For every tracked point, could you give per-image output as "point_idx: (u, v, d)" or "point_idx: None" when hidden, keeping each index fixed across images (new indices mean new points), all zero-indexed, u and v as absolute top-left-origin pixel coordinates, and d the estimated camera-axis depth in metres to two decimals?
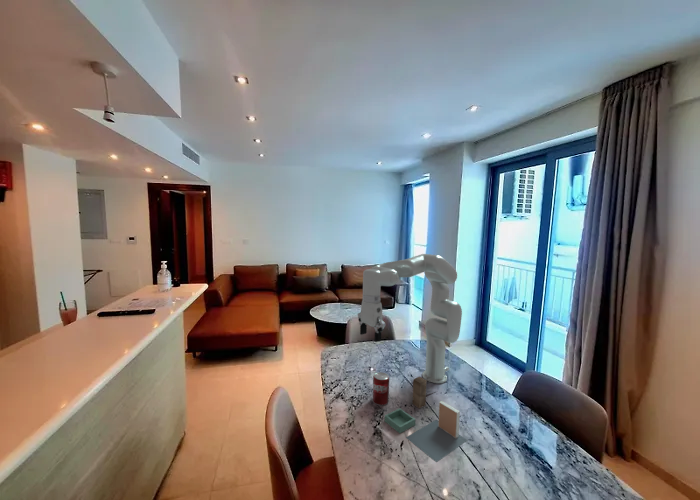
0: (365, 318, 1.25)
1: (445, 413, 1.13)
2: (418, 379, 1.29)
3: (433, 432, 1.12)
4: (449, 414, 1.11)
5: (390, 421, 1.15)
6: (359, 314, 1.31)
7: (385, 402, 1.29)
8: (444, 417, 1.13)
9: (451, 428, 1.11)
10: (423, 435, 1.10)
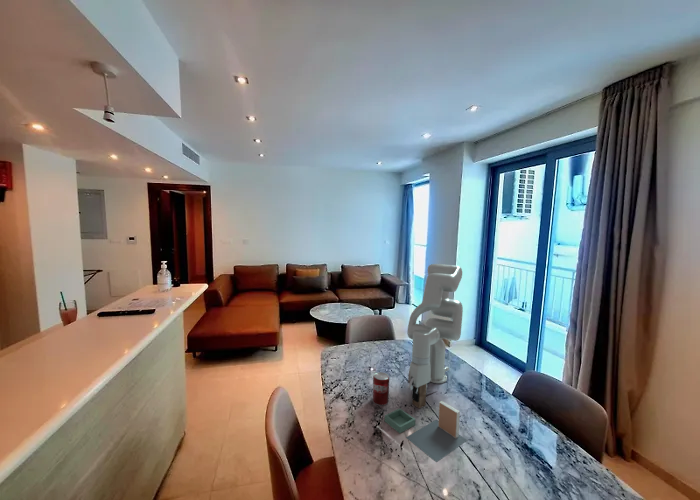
0: (422, 380, 1.26)
1: (445, 413, 1.13)
2: None
3: (433, 432, 1.12)
4: (449, 414, 1.11)
5: (390, 421, 1.15)
6: (411, 386, 1.25)
7: (385, 402, 1.29)
8: (444, 417, 1.13)
9: (451, 428, 1.11)
10: (423, 435, 1.10)
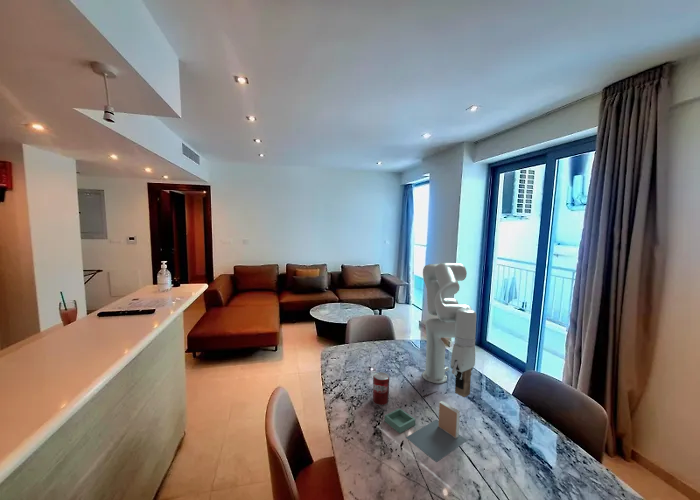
0: (468, 364, 1.13)
1: (445, 413, 1.13)
2: None
3: (433, 432, 1.12)
4: (449, 414, 1.11)
5: (390, 421, 1.15)
6: (456, 370, 1.11)
7: (385, 402, 1.29)
8: (444, 417, 1.13)
9: (451, 428, 1.11)
10: (423, 435, 1.10)
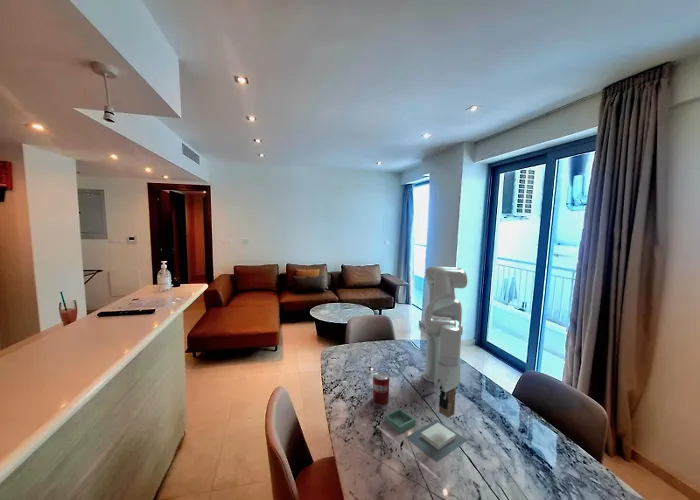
0: (452, 384, 1.08)
1: None
2: None
3: None
4: None
5: (390, 421, 1.15)
6: (439, 390, 1.07)
7: (385, 402, 1.29)
8: None
9: None
10: None
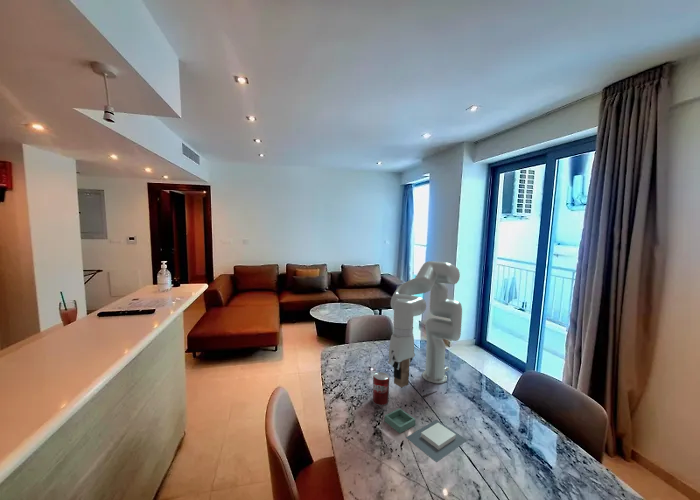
0: (405, 355, 1.12)
1: None
2: None
3: None
4: None
5: (390, 421, 1.15)
6: (392, 360, 1.11)
7: (385, 402, 1.29)
8: None
9: None
10: None
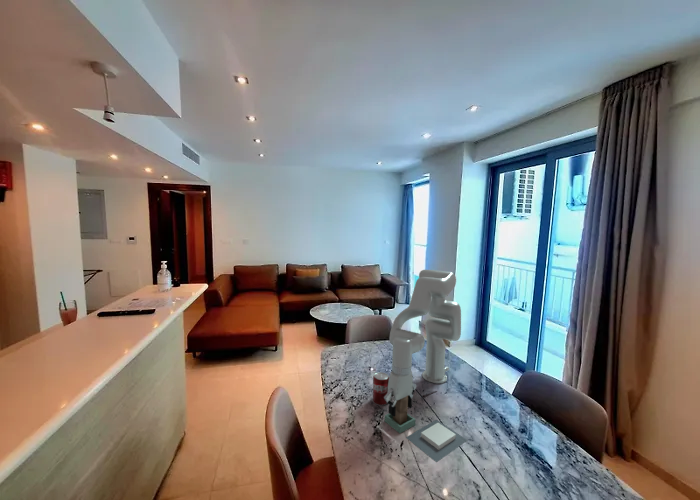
0: (403, 392, 1.14)
1: None
2: None
3: None
4: None
5: (390, 421, 1.15)
6: (388, 397, 1.11)
7: (385, 402, 1.29)
8: None
9: None
10: None
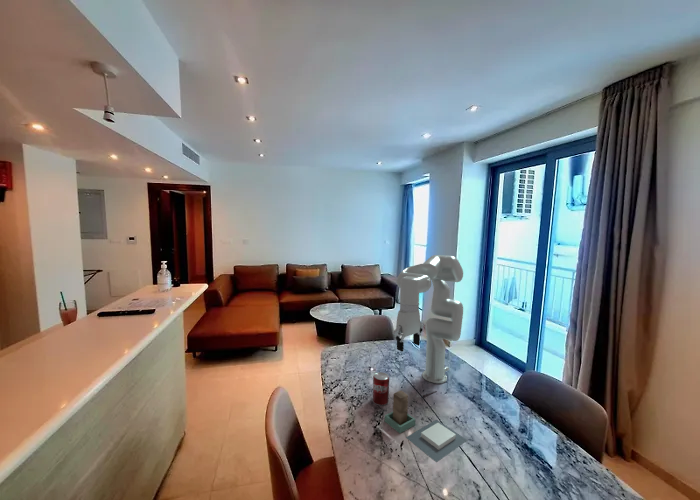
0: (411, 329, 1.18)
1: None
2: (399, 393, 1.16)
3: None
4: None
5: (390, 421, 1.15)
6: (397, 332, 1.16)
7: (385, 402, 1.29)
8: None
9: None
10: None
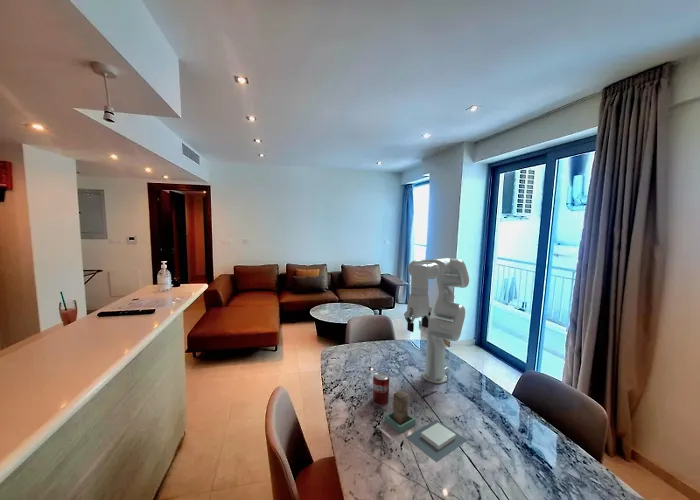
0: (421, 311, 1.29)
1: None
2: (399, 393, 1.16)
3: None
4: None
5: (390, 421, 1.15)
6: (408, 313, 1.26)
7: (385, 402, 1.29)
8: None
9: None
10: None
